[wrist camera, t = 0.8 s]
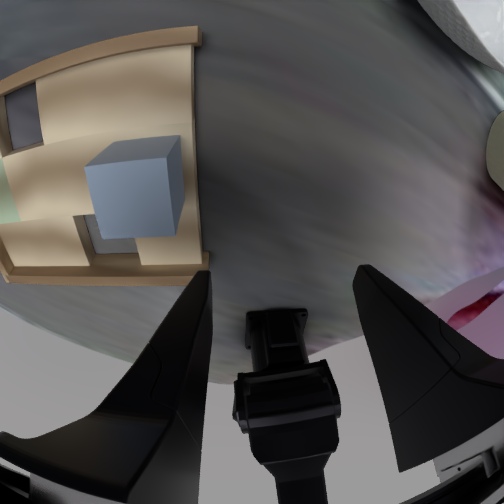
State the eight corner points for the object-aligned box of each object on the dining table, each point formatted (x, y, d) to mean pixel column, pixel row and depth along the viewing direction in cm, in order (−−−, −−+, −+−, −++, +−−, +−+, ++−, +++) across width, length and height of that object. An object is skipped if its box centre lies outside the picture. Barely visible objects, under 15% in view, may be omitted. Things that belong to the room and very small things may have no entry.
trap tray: (209, 260, 24) (208, 285, 22) (19, 263, 22) (6, 282, 20) (202, 32, 13) (197, 25, 11) (-29, 103, 11) (-51, 113, 9)
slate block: (185, 198, 19) (175, 236, 15) (123, 202, 18) (102, 239, 15) (180, 134, 16) (166, 157, 12) (113, 141, 15) (83, 167, 12)
